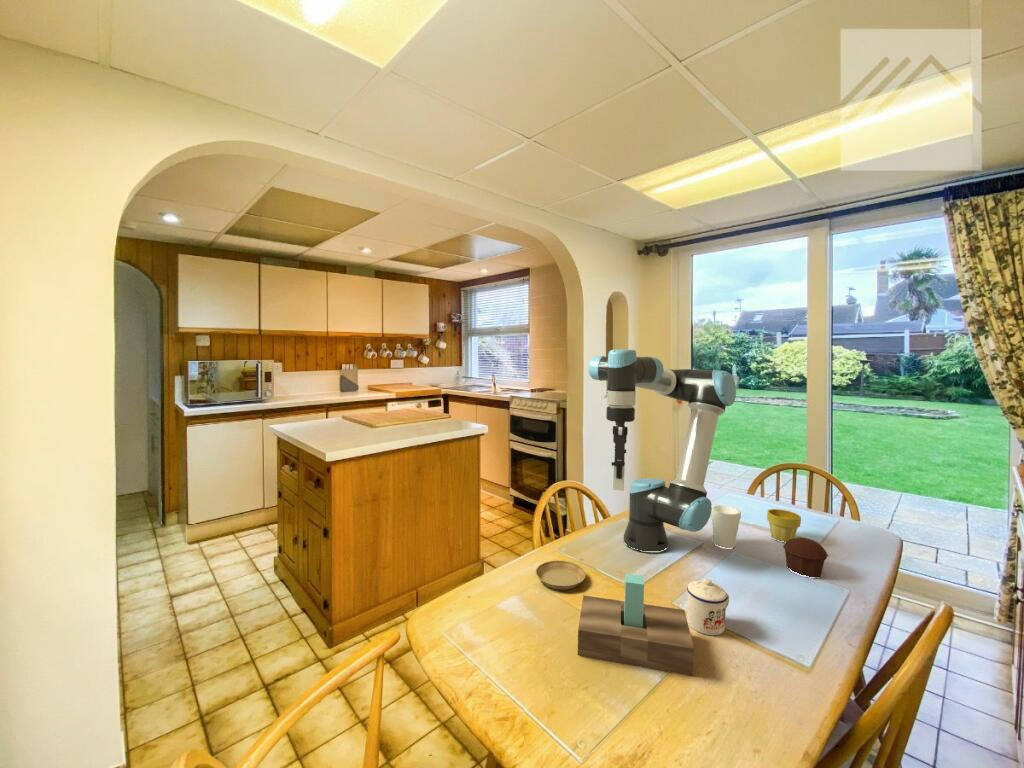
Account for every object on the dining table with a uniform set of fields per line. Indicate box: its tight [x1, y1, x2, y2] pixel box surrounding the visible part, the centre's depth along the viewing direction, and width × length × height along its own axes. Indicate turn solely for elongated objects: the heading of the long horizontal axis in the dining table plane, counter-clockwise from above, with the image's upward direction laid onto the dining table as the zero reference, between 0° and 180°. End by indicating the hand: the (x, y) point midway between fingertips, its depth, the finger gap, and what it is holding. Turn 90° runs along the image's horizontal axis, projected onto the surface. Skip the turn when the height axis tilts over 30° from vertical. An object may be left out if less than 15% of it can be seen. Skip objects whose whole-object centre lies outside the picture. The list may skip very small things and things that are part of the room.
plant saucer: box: [535, 560, 587, 591], centre depth 127 cm, size 15×15×3 cm
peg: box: [624, 572, 645, 628], centre depth 98 cm, size 4×4×14 cm
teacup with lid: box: [686, 577, 730, 636], centre depth 107 cm, size 12×9×12 cm
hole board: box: [577, 595, 695, 677], centre depth 99 cm, size 14×24×6 cm, turn 76°
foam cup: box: [710, 504, 742, 548], centre depth 151 cm, size 10×9×13 cm
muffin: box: [782, 536, 829, 578], centre depth 133 cm, size 12×11×10 cm
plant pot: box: [766, 508, 802, 542], centre depth 156 cm, size 10×10×10 cm
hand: (618, 482), depth 118 cm, fingers open, 13 cm apart
